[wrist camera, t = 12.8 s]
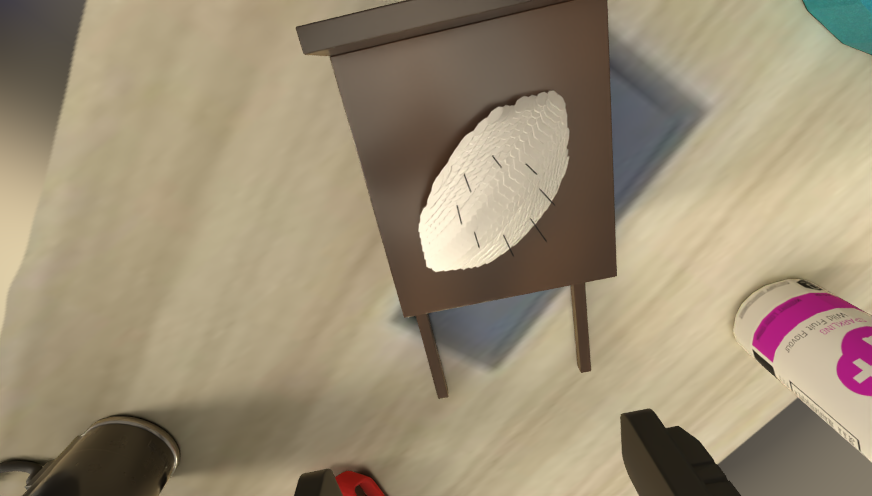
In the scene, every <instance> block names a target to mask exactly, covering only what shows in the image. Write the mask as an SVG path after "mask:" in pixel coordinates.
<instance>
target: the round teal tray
mask: <svg viewBox="0 0 872 496" xmlns="http://www.w3.org/2000/svg"><path fill="white" fill-rule="evenodd" d="M803 2H804V4H805V6H806V8H807V10H808V11H809V12H810V13H811V14H812V15H813V16H814V17H815V18H816V19H817V20H818V21H819V22H821V23H822V24H823V25H824V26H825V27H826V28H827V29H828V30H829V31H830V32H831V33H832V34H833V35H834V36H835V37H836V38H838V39H839V40H840V41H841V42H842V43H843V44H845V45H848V46H850V47H853V48H856V49H858V50H861V51H863V52H866V53H868V54H871V55H872V0H803Z"/></svg>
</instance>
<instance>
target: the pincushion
mask: <svg viewBox="0 0 872 496" xmlns="http://www.w3.org/2000/svg"><path fill="white" fill-rule="evenodd" d="M565 106H566V104H565V102H564V99H563V97H561V96H560V95H558V94H557V93H556V92H555V91H554V90H553V91H549V92H548V93H546V92H542V93H539V94H538V96H535V95H531V96H529V97H527V96H523V97H521V98H520V99H518V100H517V102H516V104H515V105H514V106H513V105H511V106H508V105H505V106H504V107H497V108H496V109H494V110H493V111H491V113H490V114H489V116H488V117H487V118H485V119H483V120H482V121H481V122H480V123H478V125H477V126H476V128H475V129H474V131H472V132H470V133H469V134H467V135H466V136H465V137H464V138H463V139H462V140H461V142H460V143H459V145H458V146H457V148H456V149H455V150H454V152H453V154H452V155H451V156H450V158H449V161H448V163H447V164H446V165H445V166H444V168H443V169H442V170H441V172H440V174H439V175H438V176H437V177H436V179H435V181H434V183H433V185H432V191H431V193H430V195H429V197H428V200H427V206H426V207H425V208H423V211H422V213H421V215H420V223H419V232H420V238H421V245H422V251H423V252H424V259H425V260H426V266H427V267H428V268H432V270H433V271H435V272H438V271H443V270H444V271H449V270H452V269H453V270H457V269H460V268H461V269H463V270H464V269H466V268H473V267H475V266H476V267H480V266H481V265H483V264H485V263H486V264H488V263H490V262H492V261H493V260H495V259H496V258H497V257H499V256H500V255H501V254H502V255H503V254H504V253H505V252H506V251H508V250H509V249H510V251H511V253H512V250H511V247H512V246H514V245H516V244H517V243H518V242H519V241H520V240H521V239H522V238H523V237H524V236H525V235H526V234H527V233H528V232H529V230H530V229H531V228H532V227H533V226H535V227H536V228H537V226H536V225H535V224H536V223H537V221H538V220H539V218H541V216H542V215H543V213H544V212H545V211H546V210H547V209H548V207H549V205H550V204H551V203H552V204H553V205H554V206H555V204H554V203H553V202H552V200H553V198H554V197H555V195H556V194H557V191H558V189H559V186H560V183H561V180H562V178H563V177H564V175H565V172H566V169H567V165H568V161H569V156H568V157H567V155H568V149H567V145H568V140H569V128H567V113H566V108H565ZM566 149H567V150H566ZM557 187H558V188H557ZM536 220H537V221H536ZM535 221H536V222H535ZM537 230H538V231H539V229H538V228H537ZM539 233H540V234H541V236H542V237H543V239H544V240H545V241H546V239H545V238H544V236H543V235H542V233H541V232H540V231H539ZM521 236H522V237H521ZM520 237H521V238H520ZM546 242H547V241H546ZM512 256H514V255H513V253H512Z"/></svg>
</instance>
